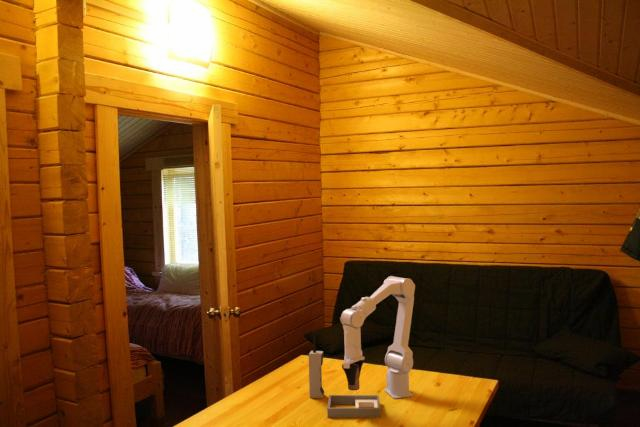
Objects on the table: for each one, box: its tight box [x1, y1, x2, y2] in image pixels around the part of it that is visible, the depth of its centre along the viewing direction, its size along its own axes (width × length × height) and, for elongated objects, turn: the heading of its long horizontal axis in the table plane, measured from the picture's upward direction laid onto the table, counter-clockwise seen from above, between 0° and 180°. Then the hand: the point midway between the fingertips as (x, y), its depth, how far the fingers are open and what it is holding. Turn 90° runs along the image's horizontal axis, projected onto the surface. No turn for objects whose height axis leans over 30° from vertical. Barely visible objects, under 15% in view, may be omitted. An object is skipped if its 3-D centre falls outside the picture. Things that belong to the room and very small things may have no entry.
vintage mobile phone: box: [308, 330, 325, 399], centre depth 195 cm, size 4×5×25 cm
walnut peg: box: [347, 364, 360, 391], centre depth 181 cm, size 4×4×8 cm
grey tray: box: [326, 394, 382, 419], centre depth 182 cm, size 18×12×3 cm, turn 86°
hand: (353, 382), depth 181 cm, fingers closed on walnut peg, 4 cm apart
